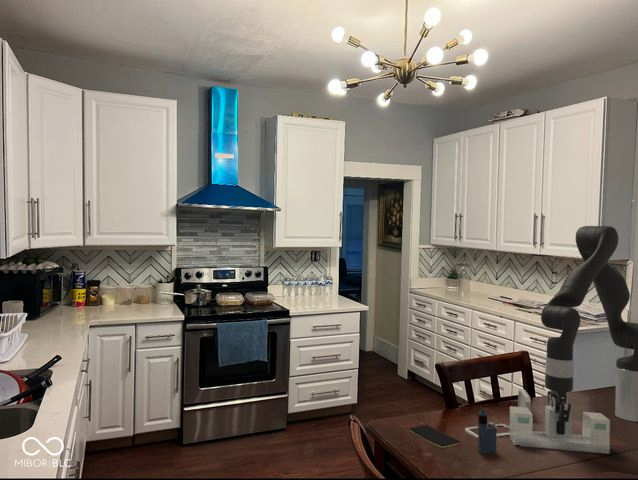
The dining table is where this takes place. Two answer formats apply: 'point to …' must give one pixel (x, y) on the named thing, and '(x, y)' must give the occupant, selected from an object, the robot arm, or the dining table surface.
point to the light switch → (524, 399)
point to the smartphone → (434, 436)
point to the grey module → (551, 424)
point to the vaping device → (486, 434)
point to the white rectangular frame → (477, 427)
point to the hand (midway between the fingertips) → (557, 430)
